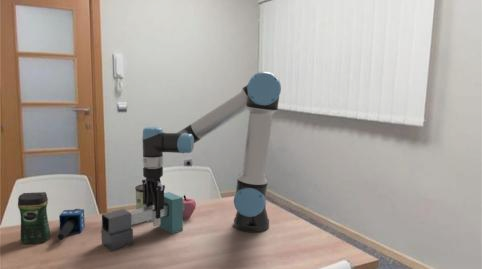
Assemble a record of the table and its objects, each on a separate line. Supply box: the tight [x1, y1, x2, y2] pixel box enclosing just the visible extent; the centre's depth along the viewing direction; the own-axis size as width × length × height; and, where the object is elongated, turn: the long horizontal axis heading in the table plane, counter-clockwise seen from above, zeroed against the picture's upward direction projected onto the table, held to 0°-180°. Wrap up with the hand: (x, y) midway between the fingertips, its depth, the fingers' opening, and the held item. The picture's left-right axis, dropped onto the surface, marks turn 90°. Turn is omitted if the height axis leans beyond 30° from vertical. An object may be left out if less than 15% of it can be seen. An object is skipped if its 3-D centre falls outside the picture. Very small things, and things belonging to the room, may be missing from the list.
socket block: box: [158, 191, 184, 234], centre depth 151 cm, size 10×5×14 cm, turn 44°
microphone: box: [57, 208, 86, 241], centre depth 145 cm, size 8×8×25 cm
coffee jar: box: [17, 191, 51, 245], centre depth 137 cm, size 10×8×19 cm
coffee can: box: [135, 183, 157, 210], centre depth 163 cm, size 10×10×14 cm
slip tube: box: [127, 203, 169, 226], centre depth 143 cm, size 4×22×4 cm, turn 134°
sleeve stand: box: [100, 208, 134, 253], centre depth 135 cm, size 8×8×12 cm
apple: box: [182, 194, 197, 220], centre depth 163 cm, size 10×9×10 cm
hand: (153, 223), depth 145 cm, fingers closed on slip tube, 4 cm apart
